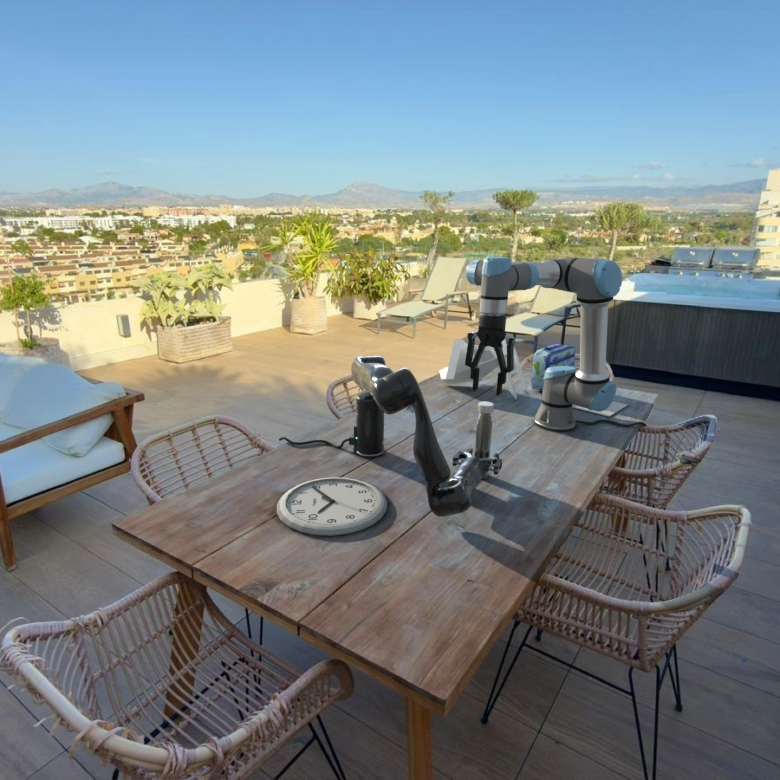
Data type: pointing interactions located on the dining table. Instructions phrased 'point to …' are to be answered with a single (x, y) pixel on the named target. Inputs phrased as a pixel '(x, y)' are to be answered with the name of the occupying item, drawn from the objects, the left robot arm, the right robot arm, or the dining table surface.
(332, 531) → the wall clock
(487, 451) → the bottle
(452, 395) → the dining table surface
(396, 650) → the dining table surface
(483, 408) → the cap
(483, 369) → the white plastic object
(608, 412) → the invitation card
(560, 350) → the lunch box
